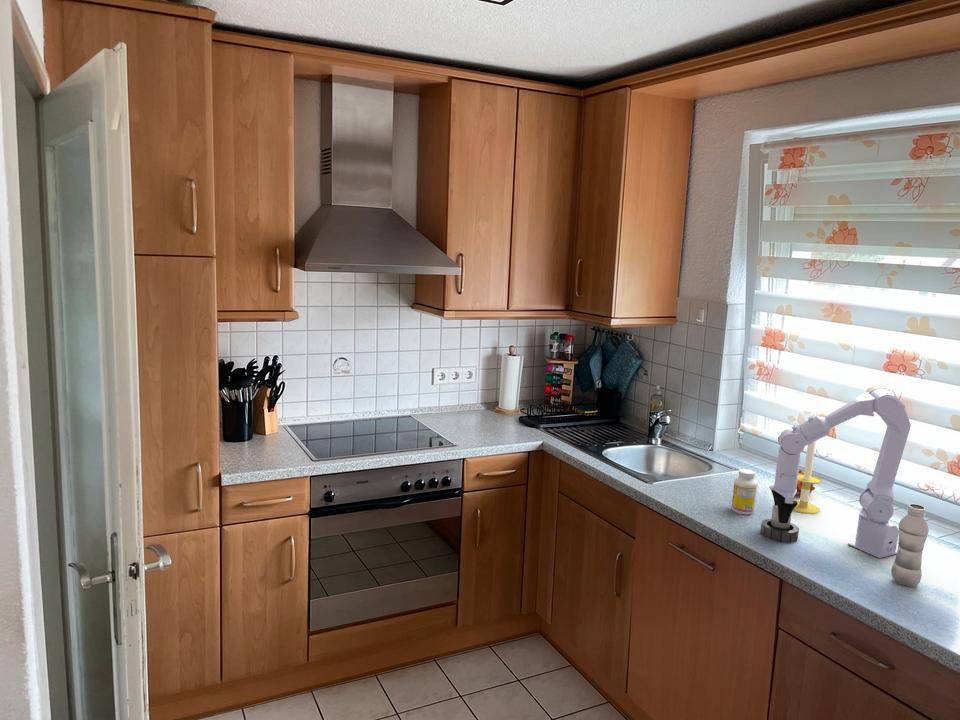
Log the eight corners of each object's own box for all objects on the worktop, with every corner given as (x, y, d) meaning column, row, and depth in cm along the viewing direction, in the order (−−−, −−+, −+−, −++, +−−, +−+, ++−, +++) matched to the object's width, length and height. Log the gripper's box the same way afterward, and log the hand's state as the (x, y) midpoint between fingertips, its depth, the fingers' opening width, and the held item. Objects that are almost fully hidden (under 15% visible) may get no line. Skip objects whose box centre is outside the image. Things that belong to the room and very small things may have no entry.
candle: (782, 508, 224) (792, 424, 220) (790, 499, 232) (801, 419, 227) (816, 516, 218) (828, 431, 214) (823, 507, 226) (835, 425, 222)
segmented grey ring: (804, 539, 201) (806, 529, 200) (780, 545, 196) (782, 534, 196) (777, 526, 209) (778, 517, 209) (753, 531, 205) (754, 521, 204)
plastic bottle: (892, 586, 175) (904, 509, 172) (887, 574, 182) (899, 499, 178) (922, 592, 173) (935, 514, 170) (916, 580, 179) (929, 504, 176)
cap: (793, 527, 201) (796, 509, 200) (781, 529, 199) (784, 512, 198) (778, 520, 206) (781, 503, 205) (766, 523, 203) (769, 505, 202)
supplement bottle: (735, 505, 225) (740, 466, 222) (757, 511, 221) (762, 471, 218) (727, 511, 220) (732, 471, 217) (749, 517, 216) (754, 476, 213)
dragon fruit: (807, 494, 242) (794, 508, 234) (787, 475, 245) (773, 488, 237) (824, 480, 237) (811, 493, 228) (804, 461, 240) (790, 473, 232)
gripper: (767, 463, 207) (762, 507, 210) (776, 479, 193) (770, 526, 196) (793, 466, 206) (787, 510, 208) (804, 482, 192) (797, 530, 194)
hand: (781, 519), depth 202 cm, fingers closed on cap, 5 cm apart
